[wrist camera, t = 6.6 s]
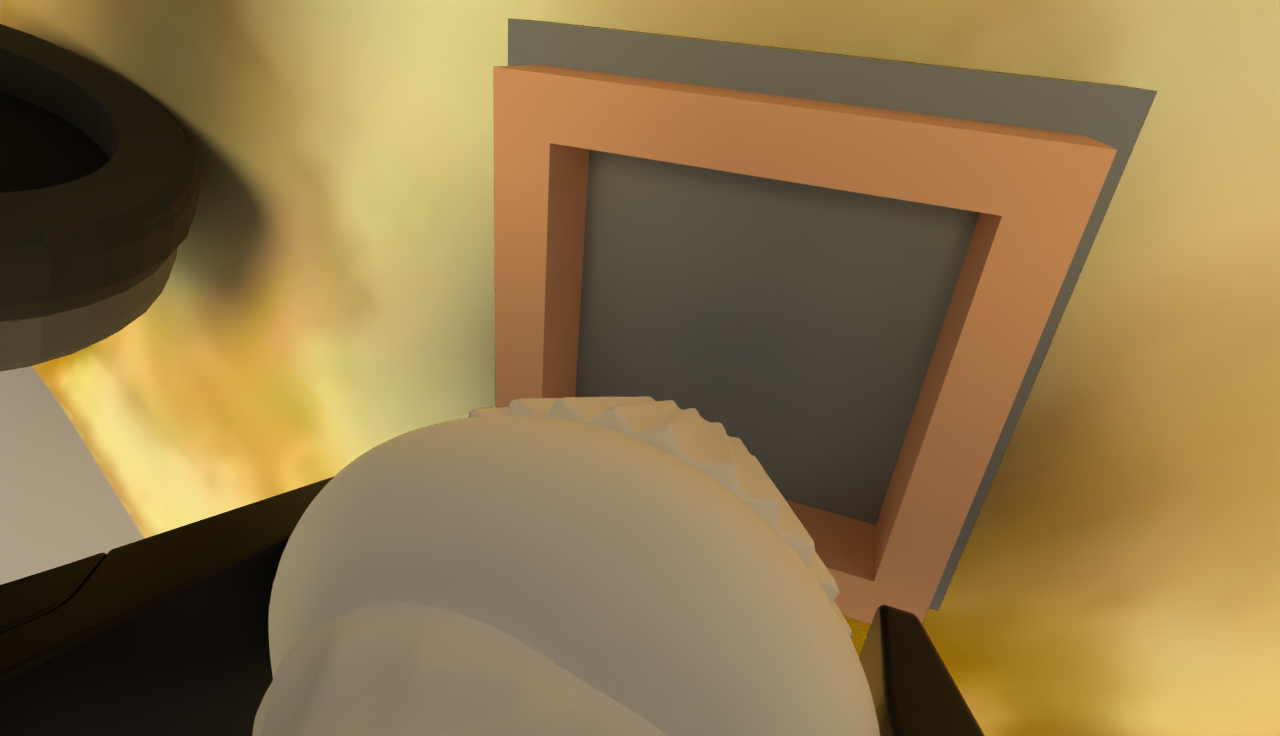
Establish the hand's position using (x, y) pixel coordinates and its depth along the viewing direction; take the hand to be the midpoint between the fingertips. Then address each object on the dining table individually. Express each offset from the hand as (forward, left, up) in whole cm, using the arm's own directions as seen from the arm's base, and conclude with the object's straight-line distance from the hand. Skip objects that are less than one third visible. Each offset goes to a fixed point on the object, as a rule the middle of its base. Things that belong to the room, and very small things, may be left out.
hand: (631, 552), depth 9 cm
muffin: (0, 0, -1) cm, 1 cm away
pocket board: (0, 0, -9) cm, 9 cm away
